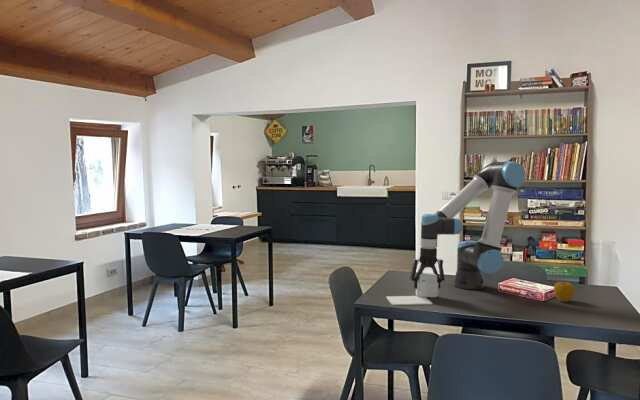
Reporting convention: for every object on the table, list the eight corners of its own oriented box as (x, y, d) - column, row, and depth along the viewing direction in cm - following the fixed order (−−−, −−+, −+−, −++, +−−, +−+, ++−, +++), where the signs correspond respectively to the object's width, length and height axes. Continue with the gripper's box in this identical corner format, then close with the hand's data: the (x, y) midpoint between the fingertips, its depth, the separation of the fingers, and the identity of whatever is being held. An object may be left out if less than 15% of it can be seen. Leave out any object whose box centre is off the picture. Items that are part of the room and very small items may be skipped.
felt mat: (424, 297, 222) (424, 295, 222) (432, 304, 210) (432, 303, 210) (386, 297, 220) (386, 296, 220) (392, 305, 208) (392, 304, 208)
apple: (573, 299, 219) (574, 280, 218) (575, 304, 211) (576, 285, 210) (553, 297, 222) (554, 278, 222) (553, 302, 215) (554, 283, 214)
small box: (434, 294, 224) (435, 272, 224) (436, 297, 219) (437, 275, 218) (416, 293, 225) (418, 271, 224) (418, 296, 219) (420, 274, 219)
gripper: (447, 246, 225) (445, 293, 227) (404, 245, 223) (402, 293, 225) (453, 249, 217) (451, 297, 219) (408, 248, 216) (406, 297, 217)
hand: (426, 295), depth 222 cm, fingers open, 8 cm apart
